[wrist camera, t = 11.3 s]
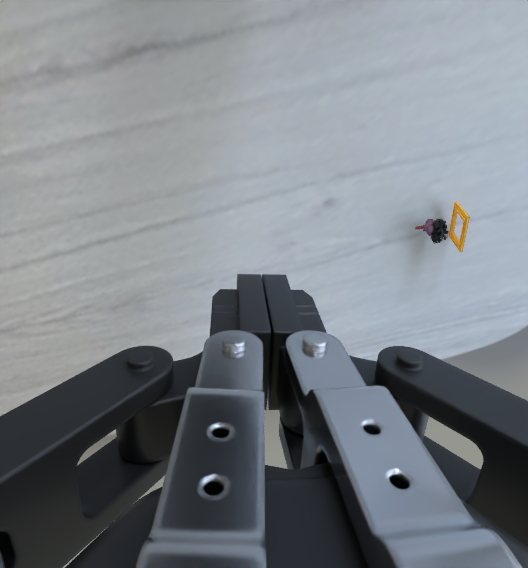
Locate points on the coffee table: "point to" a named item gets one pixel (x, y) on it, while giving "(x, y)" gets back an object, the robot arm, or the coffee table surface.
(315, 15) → the coffee table surface
